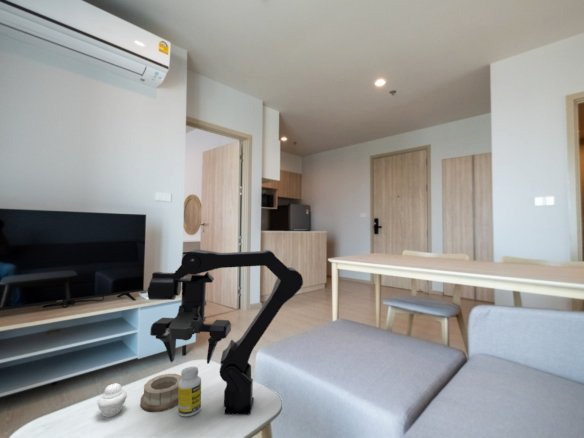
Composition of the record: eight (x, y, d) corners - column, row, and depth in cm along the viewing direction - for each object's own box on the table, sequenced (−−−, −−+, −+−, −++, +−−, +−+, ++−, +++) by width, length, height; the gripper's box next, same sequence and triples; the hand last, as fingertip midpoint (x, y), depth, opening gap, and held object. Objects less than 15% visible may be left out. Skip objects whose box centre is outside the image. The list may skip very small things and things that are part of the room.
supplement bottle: (193, 418, 66) (193, 375, 67) (173, 416, 67) (173, 374, 68) (205, 405, 71) (204, 365, 72) (186, 403, 72) (186, 364, 73)
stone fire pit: (191, 387, 80) (192, 372, 80) (175, 412, 69) (175, 395, 69) (153, 387, 80) (154, 372, 80) (131, 411, 69) (131, 394, 69)
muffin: (93, 414, 68) (94, 384, 68) (121, 402, 73) (122, 375, 73) (101, 425, 64) (102, 394, 64) (130, 412, 69) (131, 383, 69)
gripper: (139, 306, 63) (134, 377, 62) (220, 309, 62) (217, 381, 61) (163, 295, 74) (159, 355, 73) (232, 298, 73) (230, 358, 72)
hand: (190, 362), depth 70 cm, fingers open, 9 cm apart
